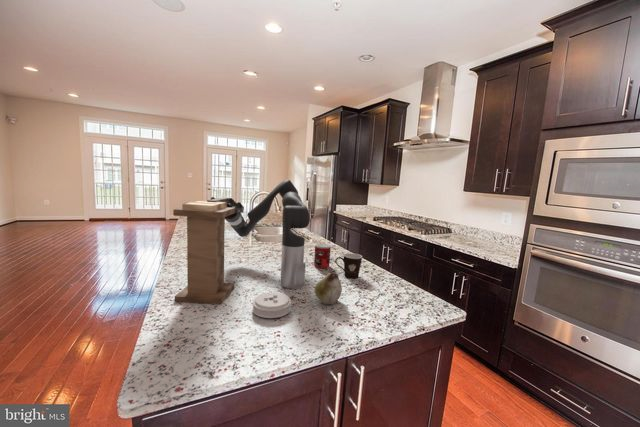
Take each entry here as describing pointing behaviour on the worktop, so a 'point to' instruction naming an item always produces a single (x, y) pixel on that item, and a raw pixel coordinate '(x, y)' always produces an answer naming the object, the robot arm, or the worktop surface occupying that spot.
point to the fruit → (328, 289)
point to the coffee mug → (351, 265)
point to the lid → (271, 305)
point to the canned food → (322, 256)
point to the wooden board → (207, 205)
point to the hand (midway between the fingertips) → (221, 199)
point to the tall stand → (205, 257)
